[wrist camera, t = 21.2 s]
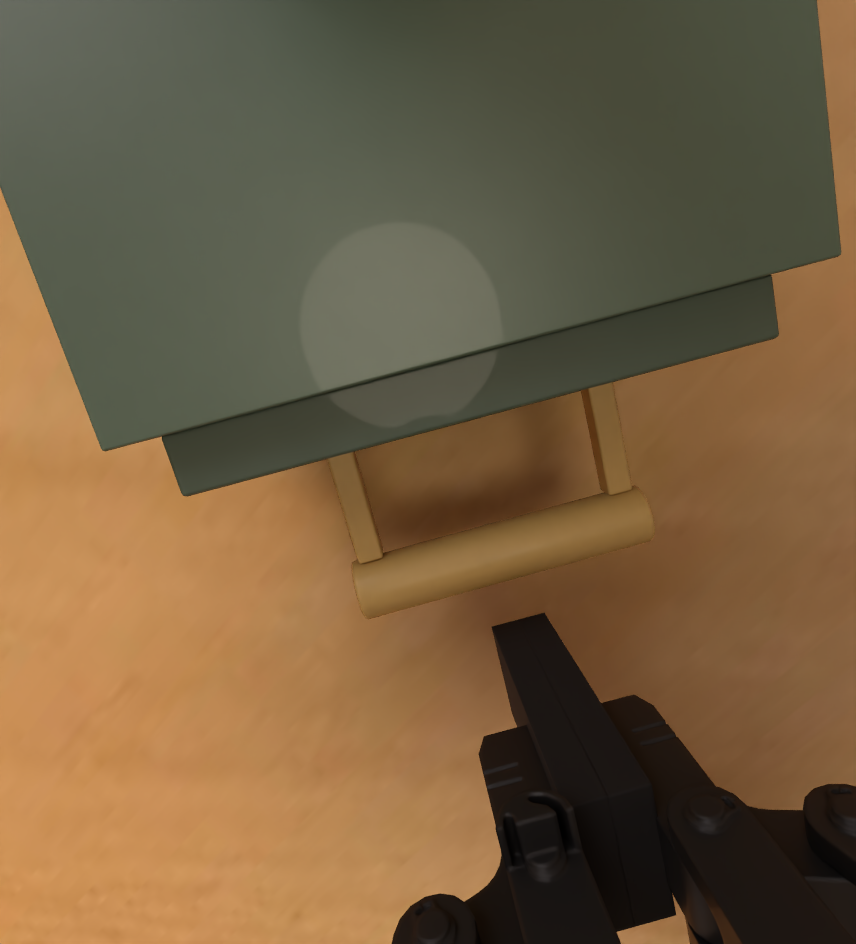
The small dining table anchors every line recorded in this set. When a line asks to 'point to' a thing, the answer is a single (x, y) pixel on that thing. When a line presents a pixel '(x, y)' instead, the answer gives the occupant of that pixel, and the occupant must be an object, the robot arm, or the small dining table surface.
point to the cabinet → (390, 181)
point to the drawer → (467, 398)
